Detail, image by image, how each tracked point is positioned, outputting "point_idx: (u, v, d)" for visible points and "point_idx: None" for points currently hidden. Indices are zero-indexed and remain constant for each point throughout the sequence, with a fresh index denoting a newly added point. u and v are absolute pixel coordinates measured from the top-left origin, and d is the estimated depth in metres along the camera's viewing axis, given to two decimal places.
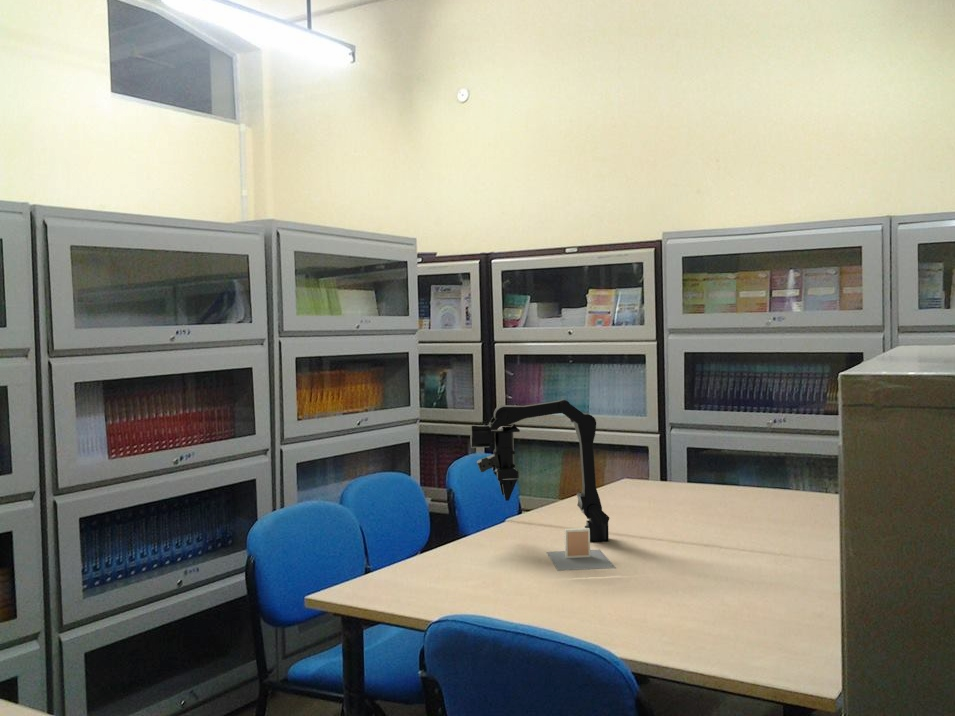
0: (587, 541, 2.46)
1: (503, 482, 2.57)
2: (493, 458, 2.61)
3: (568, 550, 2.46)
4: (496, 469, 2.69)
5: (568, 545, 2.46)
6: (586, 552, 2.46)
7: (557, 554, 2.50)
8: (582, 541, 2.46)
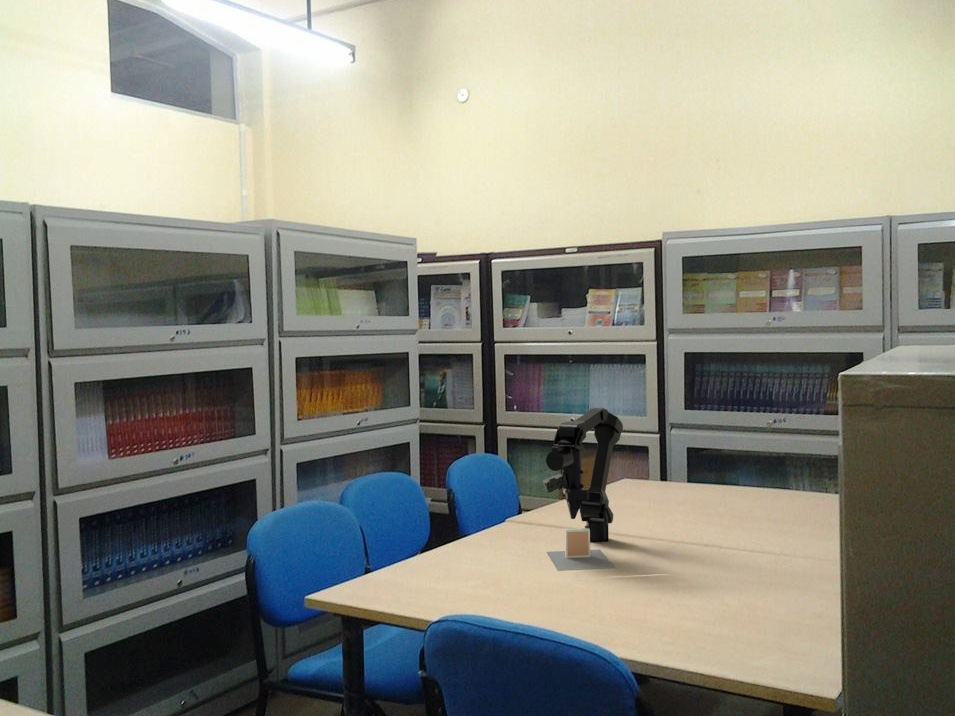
0: (587, 541, 2.46)
1: (569, 500, 2.51)
2: (561, 478, 2.50)
3: (568, 550, 2.46)
4: (564, 491, 2.54)
5: (568, 545, 2.46)
6: (586, 552, 2.46)
7: (557, 554, 2.50)
8: (582, 541, 2.46)
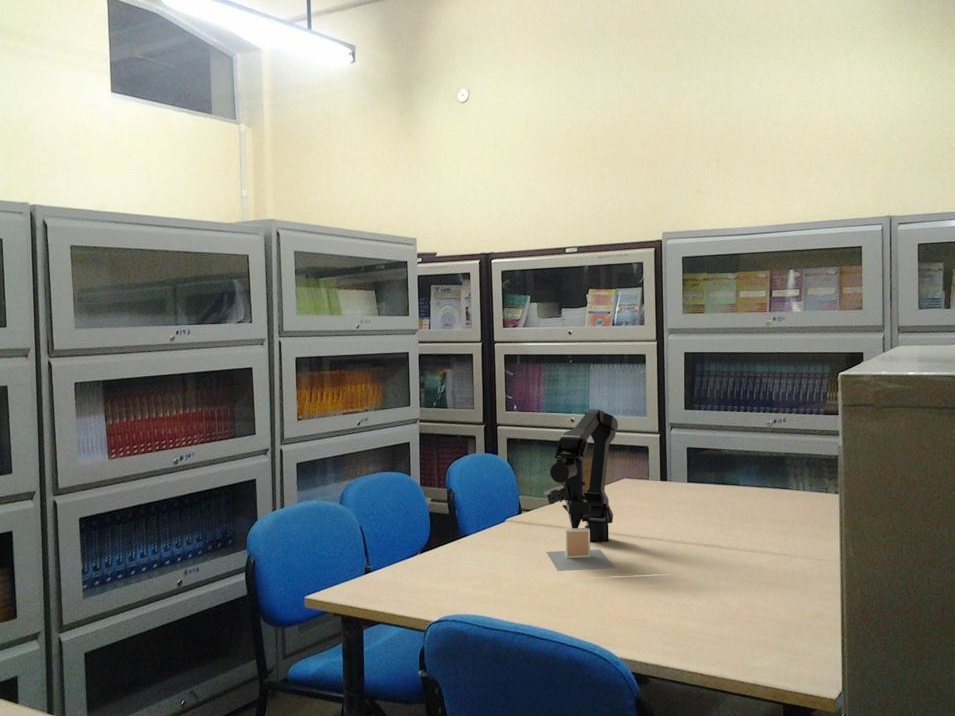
0: (587, 541, 2.46)
1: (571, 512, 2.48)
2: (562, 489, 2.47)
3: (568, 550, 2.46)
4: (566, 503, 2.51)
5: (568, 545, 2.46)
6: (586, 552, 2.46)
7: (557, 554, 2.50)
8: (582, 541, 2.46)
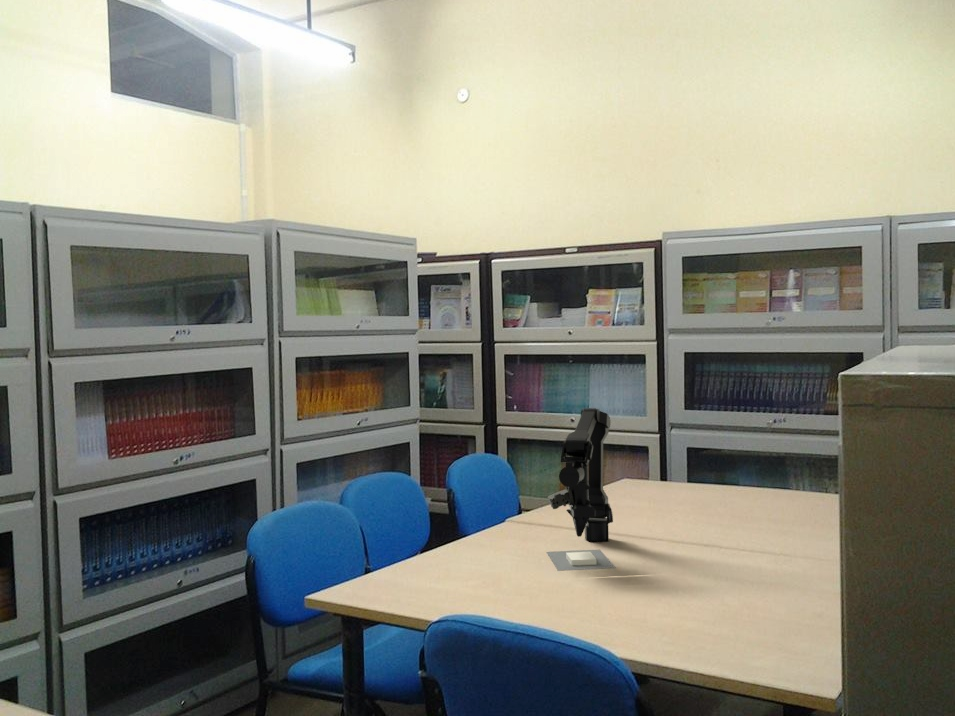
0: None
1: None
2: (567, 494, 2.41)
3: None
4: (570, 508, 2.44)
5: None
6: None
7: (557, 554, 2.50)
8: None
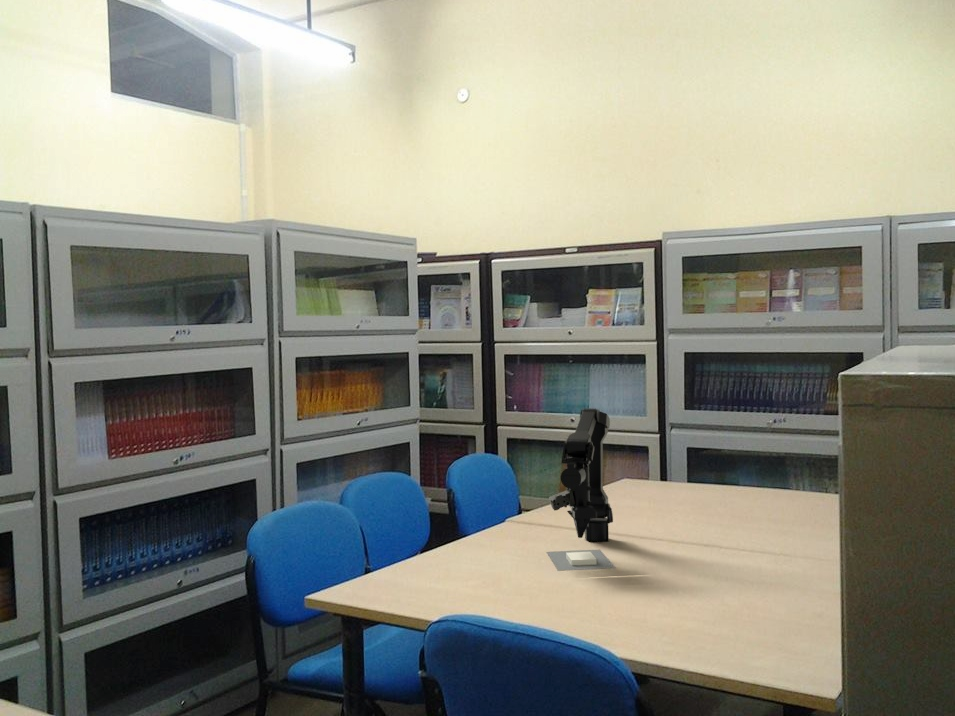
0: None
1: (576, 518, 2.40)
2: (567, 495, 2.40)
3: None
4: (571, 509, 2.43)
5: None
6: None
7: (557, 554, 2.50)
8: None
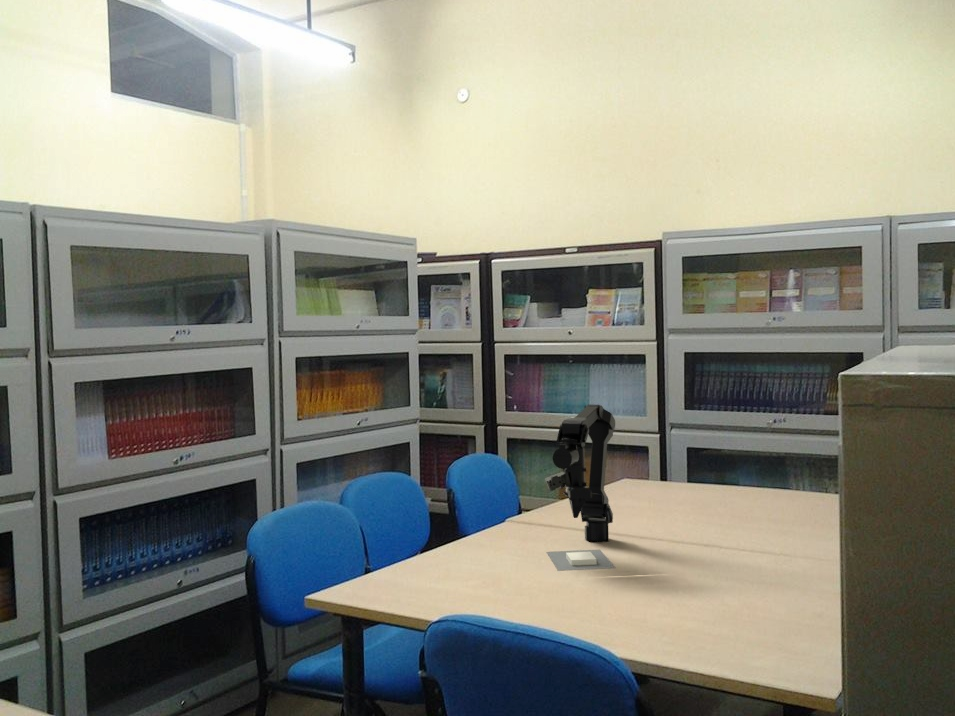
0: None
1: (572, 499, 2.46)
2: (563, 476, 2.45)
3: None
4: (567, 490, 2.49)
5: None
6: None
7: (557, 554, 2.50)
8: None
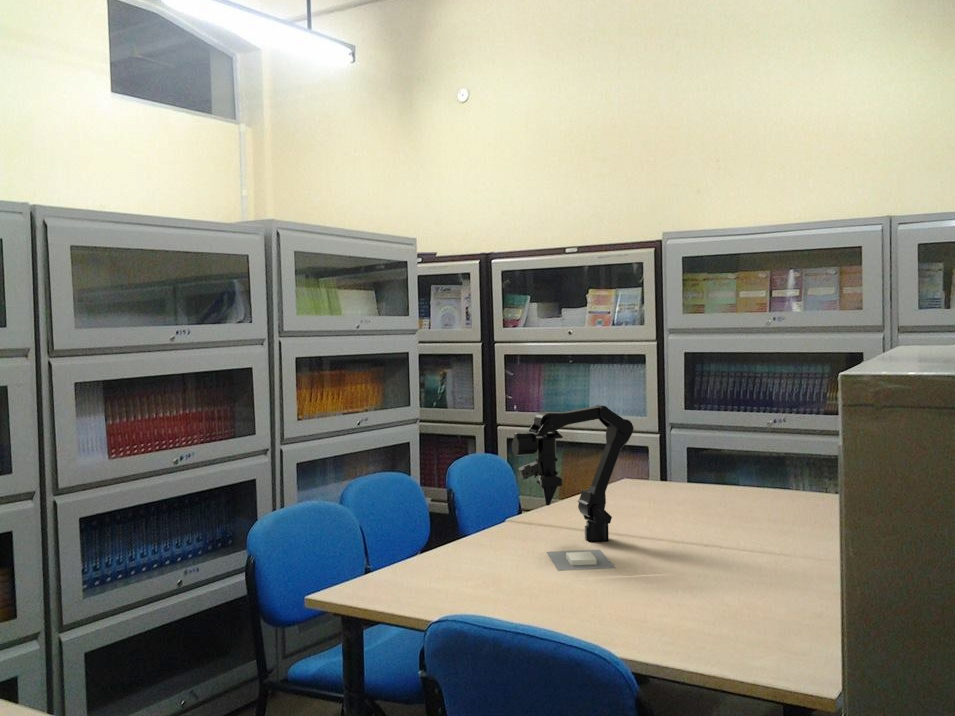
0: None
1: (544, 487, 2.58)
2: (536, 465, 2.58)
3: None
4: (540, 478, 2.61)
5: None
6: None
7: (557, 554, 2.50)
8: None
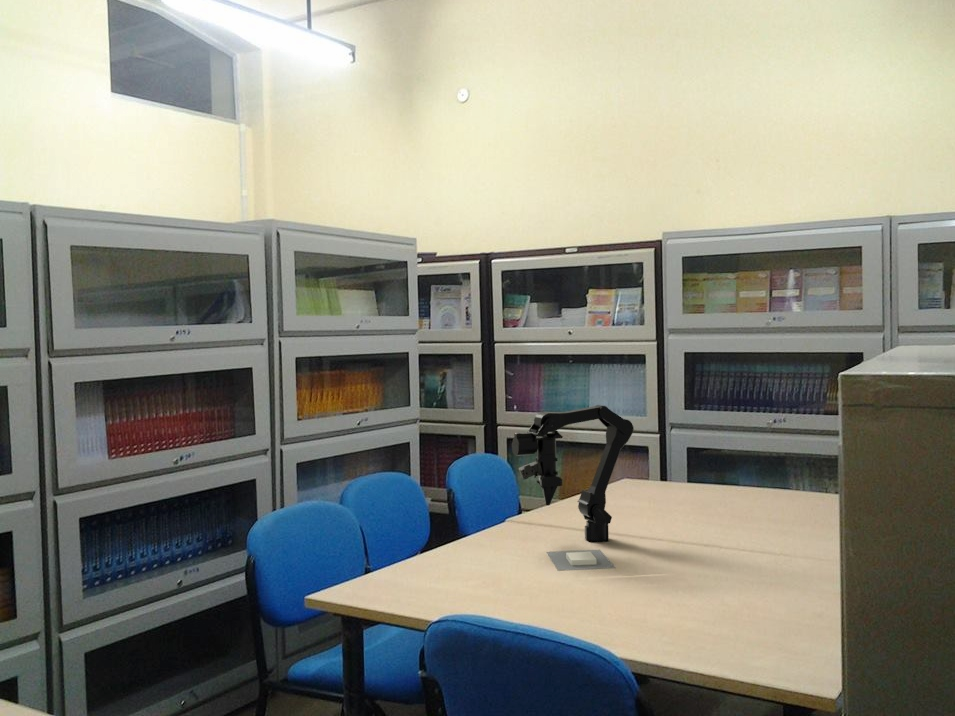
0: None
1: (544, 487, 2.58)
2: (536, 465, 2.58)
3: None
4: (540, 478, 2.61)
5: None
6: None
7: (557, 554, 2.50)
8: None
